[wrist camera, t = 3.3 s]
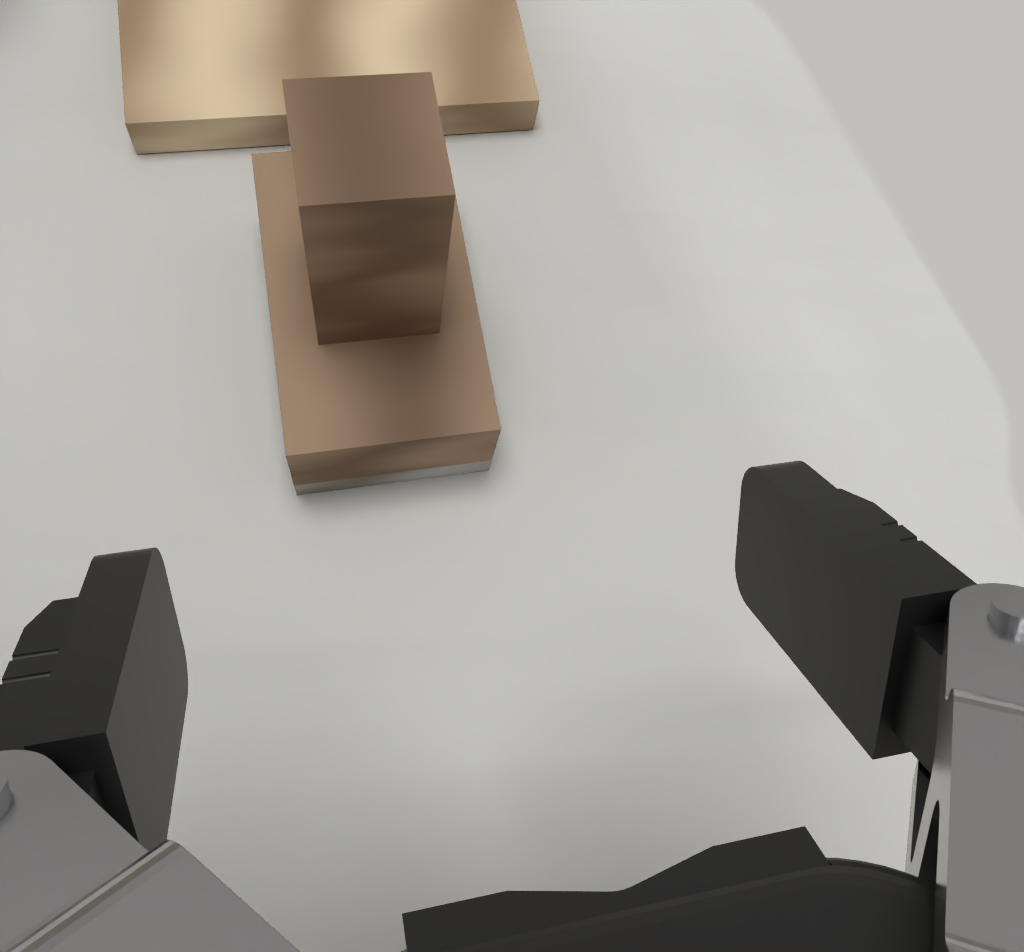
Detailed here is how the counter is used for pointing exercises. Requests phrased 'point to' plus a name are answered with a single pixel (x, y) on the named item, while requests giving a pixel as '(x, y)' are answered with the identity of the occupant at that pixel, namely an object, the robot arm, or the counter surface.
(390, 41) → the oak board
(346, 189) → the block
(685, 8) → the counter surface
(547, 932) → the robot arm
